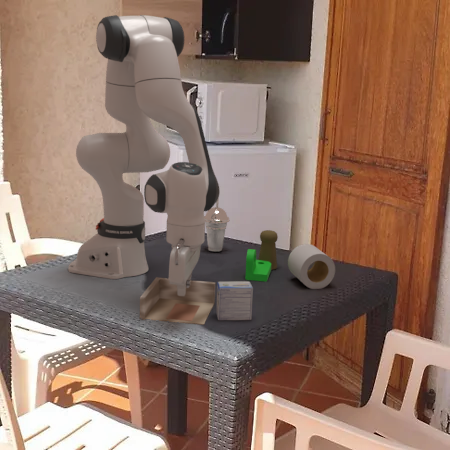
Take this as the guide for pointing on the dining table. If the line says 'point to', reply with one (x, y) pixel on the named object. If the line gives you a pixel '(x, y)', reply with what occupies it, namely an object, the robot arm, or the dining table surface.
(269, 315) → the dining table surface
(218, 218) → the cup with straw
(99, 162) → the robot arm
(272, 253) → the cork
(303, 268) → the toilet paper
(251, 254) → the mechanical part
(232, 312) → the medicine box
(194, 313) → the arena
